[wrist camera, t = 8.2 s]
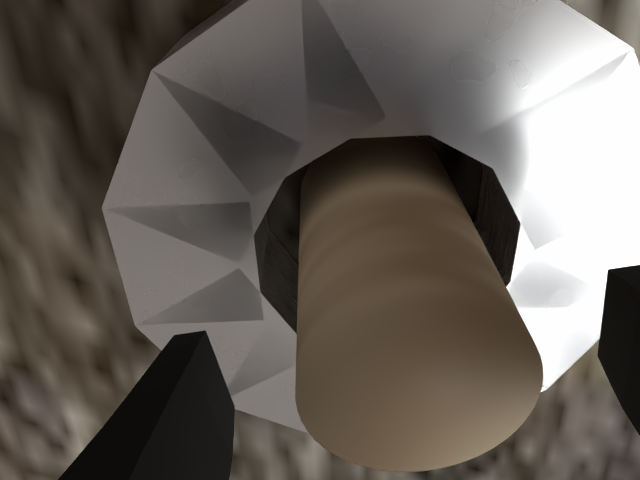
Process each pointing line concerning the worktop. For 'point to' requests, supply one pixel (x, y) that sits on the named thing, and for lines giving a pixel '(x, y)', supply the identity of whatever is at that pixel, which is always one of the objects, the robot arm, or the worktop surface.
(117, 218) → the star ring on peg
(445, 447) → the tan cylinder
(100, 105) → the worktop surface
